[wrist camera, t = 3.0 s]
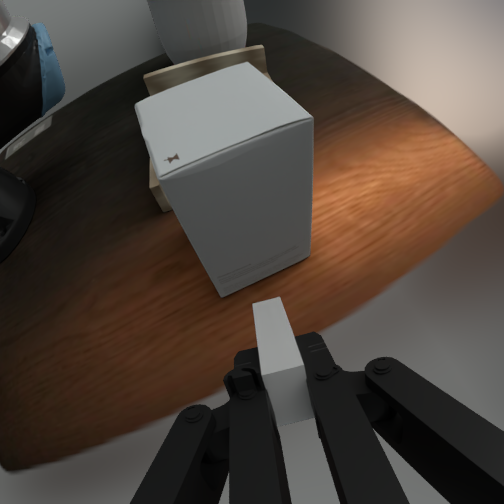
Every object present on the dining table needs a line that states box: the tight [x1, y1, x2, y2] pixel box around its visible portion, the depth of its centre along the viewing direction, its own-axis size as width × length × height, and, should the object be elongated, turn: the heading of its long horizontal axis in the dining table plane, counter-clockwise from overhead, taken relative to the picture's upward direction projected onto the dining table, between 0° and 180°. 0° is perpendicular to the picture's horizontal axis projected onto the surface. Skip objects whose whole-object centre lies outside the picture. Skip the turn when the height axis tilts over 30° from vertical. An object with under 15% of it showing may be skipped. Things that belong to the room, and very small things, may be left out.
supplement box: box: [135, 62, 313, 297], centre depth 23 cm, size 9×9×15 cm
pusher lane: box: [144, 45, 273, 212], centre depth 34 cm, size 16×18×8 cm
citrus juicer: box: [147, 0, 247, 65], centre depth 42 cm, size 16×17×20 cm
